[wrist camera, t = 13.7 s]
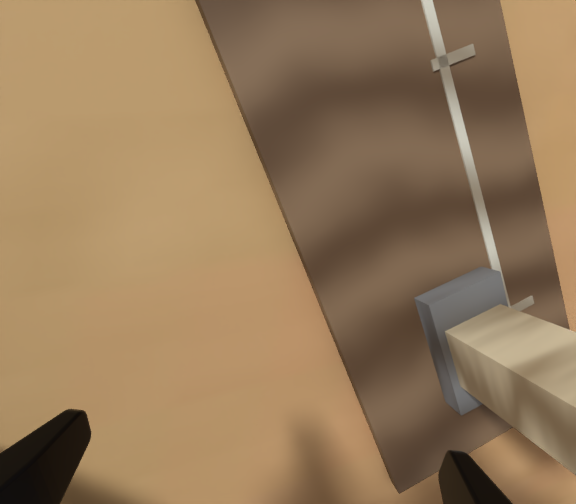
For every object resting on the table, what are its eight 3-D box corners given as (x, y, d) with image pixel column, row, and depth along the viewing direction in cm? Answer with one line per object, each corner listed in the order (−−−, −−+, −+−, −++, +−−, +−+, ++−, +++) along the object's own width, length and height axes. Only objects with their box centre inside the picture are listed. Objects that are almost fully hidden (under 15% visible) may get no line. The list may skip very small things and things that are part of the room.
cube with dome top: (505, 369, 23) (801, 544, 11) (445, 401, 22) (693, 622, 11) (480, 266, 21) (802, 349, 10) (413, 297, 20) (671, 427, 9)
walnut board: (567, 379, 26) (583, 387, 25) (391, 481, 24) (399, 495, 23) (456, -124, 18) (471, -144, 17) (179, -38, 16) (177, -55, 15)
